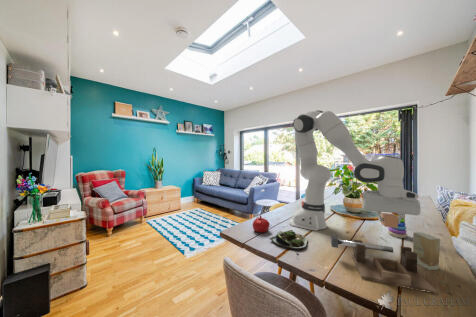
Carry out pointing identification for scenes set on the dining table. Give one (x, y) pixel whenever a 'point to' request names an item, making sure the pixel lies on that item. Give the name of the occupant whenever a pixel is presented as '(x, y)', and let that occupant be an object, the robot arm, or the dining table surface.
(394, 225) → the block
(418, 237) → the skincare box
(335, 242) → the shaft
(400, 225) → the stacking toy
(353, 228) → the dining table surface
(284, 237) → the salad plate
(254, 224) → the pomegranate
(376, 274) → the bearing bracket
